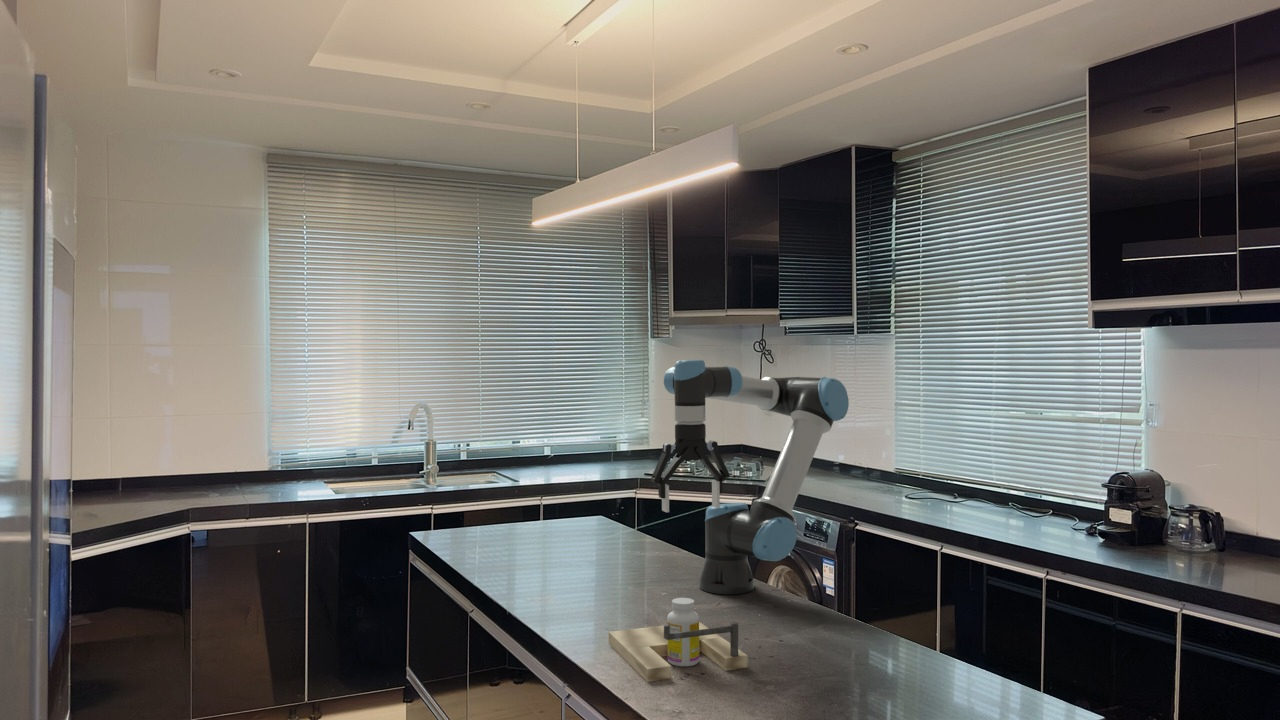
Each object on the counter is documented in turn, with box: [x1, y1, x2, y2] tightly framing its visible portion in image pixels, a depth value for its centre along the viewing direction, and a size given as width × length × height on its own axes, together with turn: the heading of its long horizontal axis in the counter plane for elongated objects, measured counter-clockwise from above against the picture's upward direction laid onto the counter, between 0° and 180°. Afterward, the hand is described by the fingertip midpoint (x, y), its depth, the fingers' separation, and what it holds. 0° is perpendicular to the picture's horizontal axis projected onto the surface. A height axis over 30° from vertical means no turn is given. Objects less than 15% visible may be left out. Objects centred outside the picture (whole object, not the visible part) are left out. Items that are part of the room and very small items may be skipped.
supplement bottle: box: [666, 597, 700, 668], centre depth 178 cm, size 7×7×13 cm
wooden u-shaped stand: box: [608, 621, 749, 683], centre depth 182 cm, size 22×24×10 cm
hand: (691, 509), depth 209 cm, fingers open, 13 cm apart
